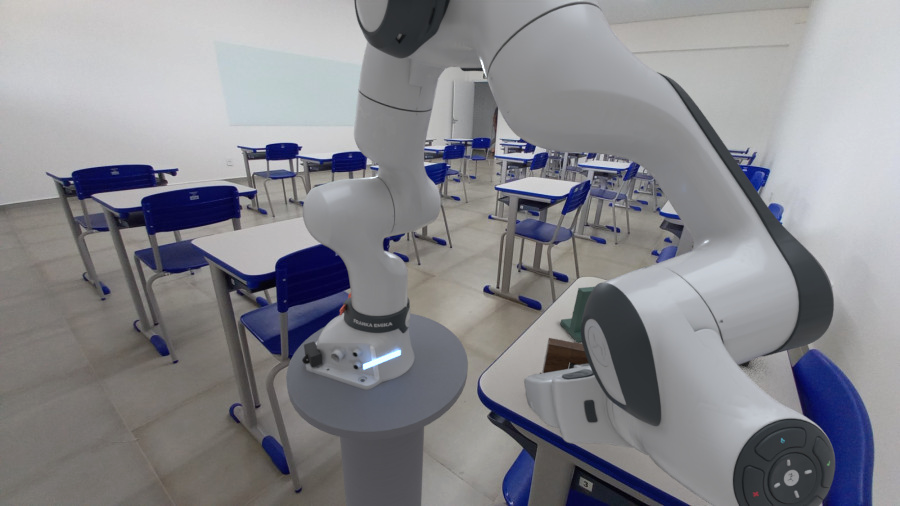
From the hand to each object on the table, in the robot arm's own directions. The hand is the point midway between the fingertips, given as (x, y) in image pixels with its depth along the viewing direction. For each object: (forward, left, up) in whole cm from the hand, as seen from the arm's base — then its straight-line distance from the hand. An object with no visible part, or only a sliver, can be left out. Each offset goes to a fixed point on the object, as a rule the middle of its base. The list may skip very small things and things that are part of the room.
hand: (584, 369), depth 51 cm
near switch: (+3, +11, -11) cm, 16 cm away
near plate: (+3, +13, -18) cm, 22 cm away
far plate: (+12, +39, -18) cm, 44 cm away
